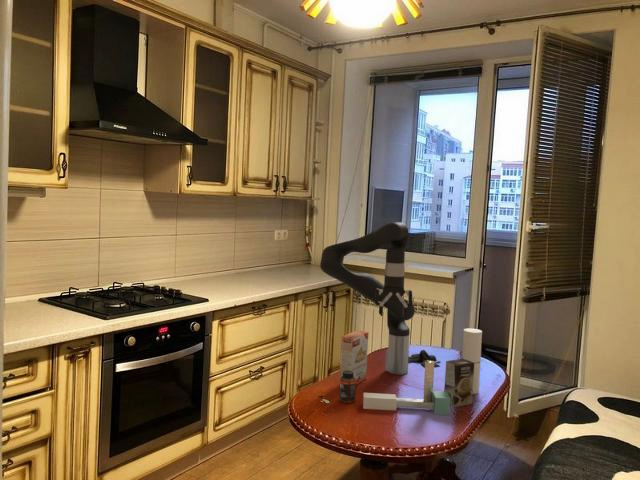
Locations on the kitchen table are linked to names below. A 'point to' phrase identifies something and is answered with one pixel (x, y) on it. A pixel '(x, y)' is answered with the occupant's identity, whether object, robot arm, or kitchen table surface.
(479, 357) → the cylindrical container
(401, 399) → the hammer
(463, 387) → the coffee box
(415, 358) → the cloth
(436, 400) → the socket
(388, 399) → the sleeve
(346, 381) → the supplement bottle
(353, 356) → the cracker box
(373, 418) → the kitchen table surface
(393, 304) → the robot arm
